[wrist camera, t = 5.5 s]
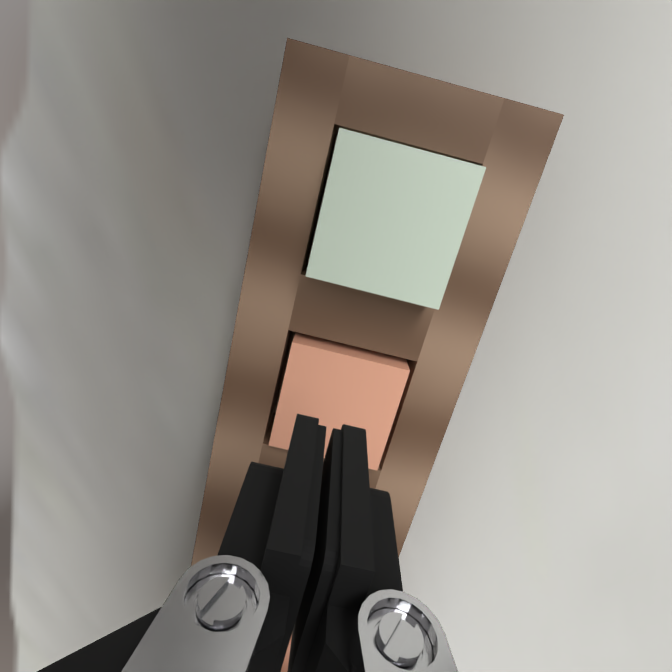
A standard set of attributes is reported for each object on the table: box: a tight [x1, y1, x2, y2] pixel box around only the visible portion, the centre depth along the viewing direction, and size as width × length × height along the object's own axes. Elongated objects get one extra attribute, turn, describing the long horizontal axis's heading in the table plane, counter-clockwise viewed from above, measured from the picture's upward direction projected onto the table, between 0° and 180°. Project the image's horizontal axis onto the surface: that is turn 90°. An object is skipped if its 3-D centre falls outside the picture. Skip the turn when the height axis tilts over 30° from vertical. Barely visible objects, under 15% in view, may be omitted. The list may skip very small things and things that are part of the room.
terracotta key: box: [269, 332, 410, 470], centre depth 20 cm, size 5×5×3 cm
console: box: [191, 38, 564, 672], centre depth 21 cm, size 32×10×4 cm, turn 166°
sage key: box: [306, 128, 486, 310], centre depth 16 cm, size 5×5×3 cm
